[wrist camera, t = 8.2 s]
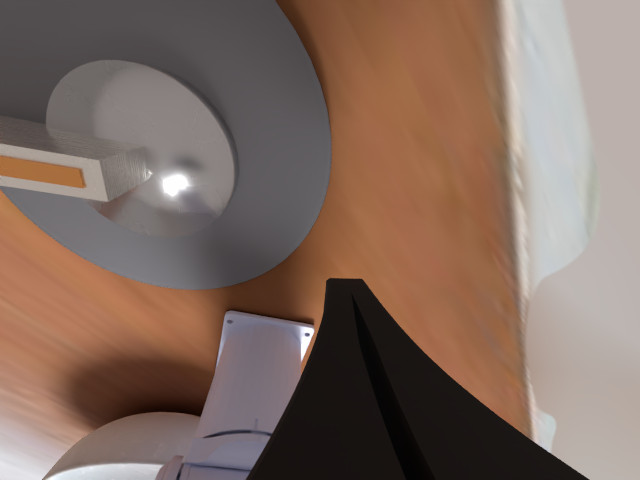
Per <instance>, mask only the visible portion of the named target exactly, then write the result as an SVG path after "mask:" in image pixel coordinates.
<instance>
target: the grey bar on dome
mask: <svg viewBox="0 0 640 480" xmlns="http://www.w3.org/2000/svg"><path fill="white" fill-rule="evenodd" d="M238 176H239V159H238V153H237V148H236V145H235V141H234V139H233V136H232V134H231V131H230V129H229V127H228V126H227V124H226V122H225V120H224V118H223V117H222V116H221V114H220V113H219V111H218V110H217V108H216V107H215V106H214V105H213V104H212V103H211V102H210V100H209V99H208V98H207V97H206V96H205V95H203V94H202V93H201V92H200V91H199V90H198V89H197V88H195V87H194V86H193V85H191V84H190V83H189V82H187V81H186V80H184V79H182V78H181V77H179V76H177V75H175V74H173V73H171V72H169V71H166V70H164V69H161V68H158V67H154V66H151V65H146V64H140V63H134V62H128V61H121V60H100V61H94V62H90V63H87V64H84V65H81V66H79V67H77V68H75V69H74V70H72V71H70V72H69V73H68V74H67V75H65V76H64V77H63V78H62V79H61V80H60V81H59V83H58V84H57V86H56V87H55V88H54V90H53V92H52V95H51V97H50V99H49V103H48V107H47V113H46V124H44V123H39V122H33V121H28V120H23V119H17V118H12V117H6V116H1V115H0V186H7V187H14V188H20V189H27V190H33V191H40V192H47V193H53V194H60V195H66V196H73V197H80V198H82V199H83V200H84V201H85V202H87V203H88V204H89V205H90V206H91V207H92V208H93V209H95V210H96V211H97V212H99V213H100V214H102V215H103V216H104V217H106V218H108V219H109V220H111V221H113V222H114V223H116V224H118V225H120V226H122V227H124V228H127V229H130V230H132V231H135V232H138V233H142V234H145V235H150V236H156V237H180V236H186V235H189V234H193V233H196V232H198V231H200V230H202V229H204V228H206V227H207V226H209V225H210V224H211V223H213V222H214V221H215V220H216V219H217V218H218V217H219V216H220V214H221V213H222V212H223V210H224V209H225V208H226V206H227V205H228V203H229V202H230V200H231V198H232V197H233V194H234V192H235V190H236V186H237V183H238Z"/></svg>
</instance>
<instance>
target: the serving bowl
mask: <svg viewBox="0 0 640 480" xmlns="http://www.w3.org/2000/svg"><path fill="white" fill-rule="evenodd" d="M200 418H201V417H200V416H195V415H191V414H185V413H175V412H151V413H142V414H136V415H131V416H127V417H124V418H121V419H118V420H115V421H112V422H110V423H108V424H106V425H104V426H102V427H100V428H98V429H96V430H94V431H93V432H91V433H90V434H88V435H87V436H85V437H84V438H82V439H81V440H80V441H79V442H77V443H76V444H75V445H74V446H72V447H71V448H70V449H69V450H68V451H67V452H66V453H65V454H64V455H63V456H62V457H61V458H60V459H59V461H58V462H57V463H56V464H55V465H54V466H53V467H52V469H51V470H50V471H49V472H48V473H47V474H46V476H45V477H44V478H43V479H42V480H155V478H156V476H157V474H158V472H159V470H160V468H161V467H162V466H164V465H165V464H166V463H167V462H169V461H171V459H172V457H174V456H175V455H179V456H184V457H183V460H182V463H185V460H186V457H187V454H188V451H189V448H190V445H191V442H192V439H193V438H194V437H195V433H196V430H197V427H198V424H199V421H200Z"/></svg>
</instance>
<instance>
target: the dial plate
mask: <svg viewBox="0 0 640 480" xmlns="http://www.w3.org/2000/svg"><path fill="white" fill-rule="evenodd" d="M100 60H121V61H128V62H134V63H140V64H146V65H151V66H154V67H158V68H161V69H164V70H166V71H169V72H171V73H173V74H175V75H177V76H179V77H181V78H182V79H184V80H186V81H187V82H189V83H190V84H191V85H193V86H194V87H195V88H197V89H198V90H199V91H200V92H201V93H202V94H203V95H205V96H206V97H207V98H208V99H209V100H210V102H211V103H212V104H213V105H214V106H215V107H216V108H217V110H218V111H219V113H220V114H221V116H222V117H223V118H224V120H225V122H226V124H227V126H228V127H229V129H230V131H231V134H232V136H233V139H234V141H235V145H236V148H237V153H238V159H239V176H238V183H237V186H236V190H235V192H234V194H233V197H232V198H231V200H230V202H229V203H228V205H227V206H226V208H225V209H224V210H223V212H222V213H221V214H220V216H219V217H218V218H217V219H216V220H215V221H214V222H213V223H211V224H210V225H209V226H207V227H206V228H204V229H202V230H200V231H198V232H196V233H193V234H189V235H186V236H180V237H156V236H150V235H145V234H142V233H138V232H135V231H132V230H130V229H127V228H124V227H122V226H120V225H118V224H116V223H114V222H113V221H111V220H109V219H108V218H106V217H104V216H103V215H102V214H100V213H99V212H97V211H96V210H95V209H93V208H92V207H91V206H90V205H89V204H88V203H87V202H85V201H84V200H83V199H82V198H80V197H73V196H66V195H60V194H53V193H47V192H40V191H33V190H27V189H20V188H14V187H7V186H0V189H1V190H2V191H3V193H4V194H5V195H6V196H7V197H8V198H9V199H10V200H11V202H12V203H13V204H14V205H15V206H16V207H17V208H18V209H19V210H20V211H21V212H22V213H23V214H24V215H25V216H26V217H28V218H29V219H30V220H31V221H32V222H33V223H34V224H36V225H37V226H38V227H39V228H40V229H41V230H43V231H44V232H45V233H46V234H48V235H49V236H50V237H52V238H53V239H55V240H56V241H57V242H59V243H60V244H61V245H63V246H64V247H66V248H67V249H69V250H71V251H72V252H74V253H76V254H77V255H79V256H80V257H82V258H84V259H86V260H88V261H90V262H92V263H94V264H95V265H97V266H99V267H101V268H103V269H106V270H108V271H111V272H113V273H116V274H118V275H120V276H123V277H126V278H129V279H132V280H135V281H139V282H142V283H146V284H151V285H155V286H159V287H167V288H174V289H189V290H201V289H215V288H221V287H227V286H231V285H235V284H239V283H242V282H246V281H248V280H250V279H253V278H255V277H258V276H260V275H262V274H264V273H265V272H267V271H269V270H271V269H273V268H274V267H275V266H277V265H278V264H279V263H281V262H282V261H284V260H285V259H286V258H287V257H288V256H289V255H290V254H291V253H292V252H293V251H294V250H295V249H296V248H298V246H299V245H300V244H301V242H302V241H303V240H304V239H305V237H306V236H307V235H308V233H309V232H310V230H311V228H312V226H313V225H314V223H315V221H316V220H317V217H318V215H319V213H320V210H321V208H322V205H323V203H324V200H325V196H326V192H327V188H328V184H329V177H330V169H331V132H330V125H329V117H328V111H327V107H326V104H325V100H324V96H323V92H322V88H321V85H320V82H319V80H318V77H317V75H316V72H315V69H314V67H313V64H312V62H311V59H310V57H309V55H308V53H307V51H306V49H305V47H304V46H303V44H302V42H301V40H300V38H299V36H298V34H297V32H296V30H295V29H294V27H293V26H292V24H291V23H290V21H289V20H288V19H287V17H286V16H285V14H284V13H283V11H282V10H281V8H280V7H279V5H278V4H277V2H276V1H275V0H0V115H1V116H6V117H12V118H17V119H23V120H28V121H33V122H39V123H44V124H46V113H47V107H48V103H49V99H50V97H51V95H52V92H53V90H54V88H55V87H56V86H57V84H58V83H59V81H60V80H61V79H62V78H63V77H64V76H65V75H67V74H68V73H69V72H70V71H72V70H74V69H75V68H77V67H79V66H81V65H84V64H87V63H90V62H94V61H100Z"/></svg>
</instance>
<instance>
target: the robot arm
mask: <svg viewBox="0 0 640 480" xmlns="http://www.w3.org/2000/svg"><path fill="white" fill-rule="evenodd" d="M313 333H314V326H313V325H311V324H305V323H300V322H294V321H288V320H283V319H277V318H271V317H265V316H260V315H254V314H248V313H243V312H237V311H227V312H226V314H225V317H224V323H223V329H222V335H221V341H220V347H219V353H218V358H217V364H216V370H215V375H214V378H213V381H212V384H211V387H210V390H209V393H208V396H207V399H206V402H205V406H204V409H203V412H202V415H201V418H200V421H199V424H198V427H197V430H196V433H195V437H194V438H193V439H192V442H191V445H190V448H189V451H188V454H187V457H186V460H185V463H182V460H183V457H184V456H179V455H175V456H174V457H172V459H171V461H169V462H167V463H166V464H165V465H164V466H162V467H161V468H160V470H159V472H158V474H157V476H156V478H155V480H589V479H588V478H586V477H585V476H583V475H581V474H580V473H578V472H577V471H576V470H574V469H573V468H571V467H570V466H568V465H567V464H565V463H564V462H562V461H561V460H560V459H558V458H557V457H555V456H554V455H552V454H551V453H549V452H548V451H546V450H545V449H543V448H542V447H540V446H539V445H537V444H536V443H535V442H533V441H532V440H530V439H529V438H528V437H526V436H525V435H523V434H522V433H521V432H519V431H518V430H517V429H515V428H514V427H513V426H511V425H510V424H509V423H507V422H506V421H505V420H503V419H502V418H500V417H499V416H498V415H497V414H495V413H494V412H493V411H491V410H490V409H489V408H488V407H486V406H485V405H484V404H482V403H481V402H480V401H479V400H478V399H476V398H475V397H474V396H473V395H472V394H470V393H469V392H468V391H467V390H465V389H464V388H463V387H462V386H461V385H459V384H458V383H457V382H456V381H455V380H453V379H452V378H451V377H450V376H449V375H448V374H447V373H446V372H444V371H443V370H442V369H441V368H440V367H439V366H438V365H437V364H436V363H435V362H434V361H433V360H432V359H430V358H429V357H428V356H427V355H426V354H425V353H424V352H423V351H422V350H421V349H420V348H419V347H418V346H417V345H416V343H415V342H414V341H413V340H412V339H411V338H410V337H409V336H408V335H407V334H406V333H405V332H404V330H403V329H402V328H401V327H400V326H399V325H398V324H397V322H396V321H395V320H394V319H393V318H392V317H391V315H390V314H389V313H388V312H387V311H386V309H385V308H384V307H383V306H382V304H381V303H380V302H379V300H378V299H377V298H376V297H375V295H374V294H373V293H372V291H371V290H370V289H369V287H368V286H367V284H366V283H365V282H364V281H363V280H362V279H340V278H330V279H328V280H327V281H326V292H325V302H324V313H323V317H322V321H321V324H320V328H319V331H318V334H317V337H316V340H315V343H314V346H313V348H312V351H311V354H310V356H309V359H308V361H307V364H306V366H305V368H304V371H303V373H302V375H301V362H302V359H303V357H304V354H305V352H306V350H307V347H308V345H309V343H310V340H311V338H312V335H313Z"/></svg>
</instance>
